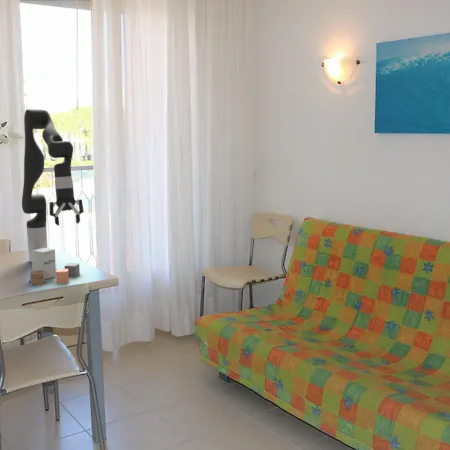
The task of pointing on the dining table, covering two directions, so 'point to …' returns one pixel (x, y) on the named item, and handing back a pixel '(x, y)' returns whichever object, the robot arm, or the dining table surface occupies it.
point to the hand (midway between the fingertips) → (67, 224)
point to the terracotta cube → (62, 276)
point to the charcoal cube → (72, 269)
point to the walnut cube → (36, 277)
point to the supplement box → (44, 262)
